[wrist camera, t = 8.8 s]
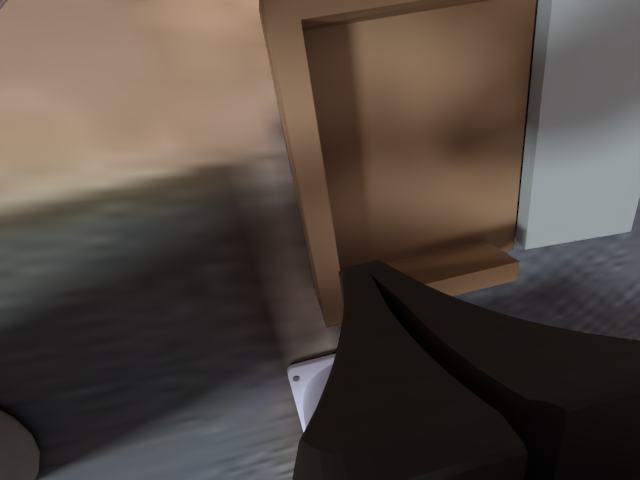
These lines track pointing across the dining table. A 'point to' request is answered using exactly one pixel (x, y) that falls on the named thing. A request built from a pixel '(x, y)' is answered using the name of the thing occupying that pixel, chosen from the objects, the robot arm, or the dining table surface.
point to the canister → (17, 450)
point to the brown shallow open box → (404, 134)
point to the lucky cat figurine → (2, 3)
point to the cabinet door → (582, 123)
